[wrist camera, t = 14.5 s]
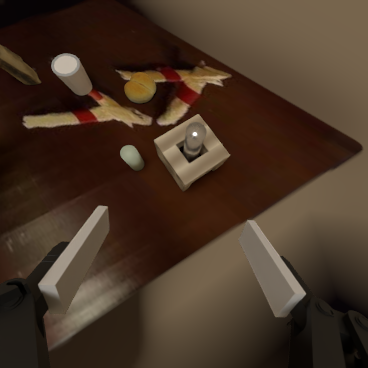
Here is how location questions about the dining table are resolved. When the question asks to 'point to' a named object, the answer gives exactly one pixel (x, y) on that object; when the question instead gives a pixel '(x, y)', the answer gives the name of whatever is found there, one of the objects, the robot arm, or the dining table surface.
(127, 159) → the short pin
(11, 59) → the rock
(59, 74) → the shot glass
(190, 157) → the tall grey cylinder
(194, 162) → the beige hollow block
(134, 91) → the bread roll
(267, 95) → the dining table surface
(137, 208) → the dining table surface
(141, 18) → the dining table surface
